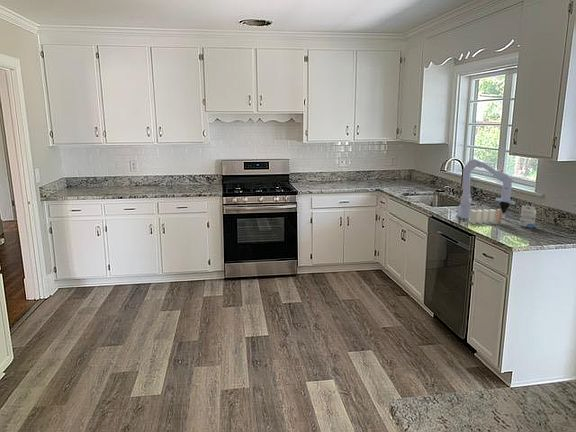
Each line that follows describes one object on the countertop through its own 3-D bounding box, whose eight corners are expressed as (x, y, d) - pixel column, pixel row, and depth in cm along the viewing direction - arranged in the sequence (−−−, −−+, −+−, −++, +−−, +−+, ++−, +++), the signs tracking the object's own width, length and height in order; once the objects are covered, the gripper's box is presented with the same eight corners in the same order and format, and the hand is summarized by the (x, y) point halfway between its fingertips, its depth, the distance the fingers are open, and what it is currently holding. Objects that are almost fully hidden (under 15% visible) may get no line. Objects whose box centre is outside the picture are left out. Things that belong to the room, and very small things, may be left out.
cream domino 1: (469, 222, 300) (470, 209, 298) (471, 222, 300) (472, 209, 298) (473, 224, 295) (474, 211, 293) (475, 224, 295) (477, 211, 293)
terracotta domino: (495, 221, 303) (497, 209, 301) (498, 221, 303) (499, 209, 301) (498, 223, 298) (499, 210, 296) (500, 223, 298) (502, 210, 296)
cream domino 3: (482, 221, 301) (483, 209, 299) (484, 221, 302) (485, 209, 300) (486, 223, 297) (488, 211, 294) (488, 223, 297) (490, 211, 295)
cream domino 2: (475, 222, 301) (477, 209, 298) (477, 222, 301) (479, 209, 299) (480, 223, 296) (481, 211, 294) (482, 223, 296) (483, 211, 294)
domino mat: (463, 221, 305) (463, 220, 305) (499, 219, 310) (499, 219, 310) (473, 225, 293) (473, 224, 293) (510, 223, 298) (510, 223, 298)
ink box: (534, 227, 290) (537, 206, 287) (532, 228, 287) (535, 207, 283) (520, 224, 296) (523, 204, 293) (518, 226, 292) (521, 205, 289)
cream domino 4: (488, 221, 302) (490, 209, 300) (490, 221, 302) (492, 209, 300) (493, 223, 297) (494, 210, 295) (495, 223, 298) (496, 210, 296)
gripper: (493, 192, 301) (490, 211, 304) (511, 195, 289) (508, 215, 292) (500, 191, 304) (497, 210, 307) (518, 195, 291) (515, 214, 295)
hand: (503, 212), depth 300 cm, fingers closed
